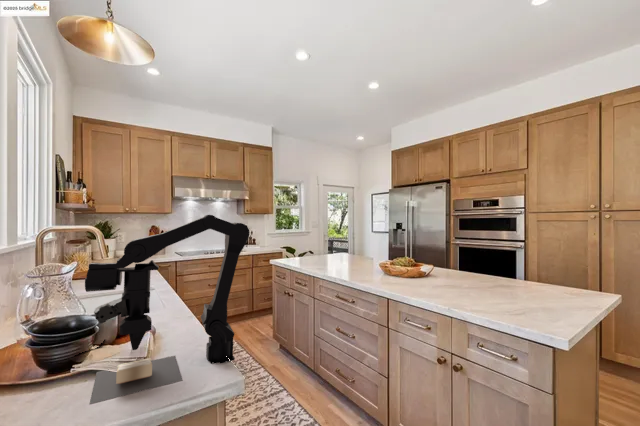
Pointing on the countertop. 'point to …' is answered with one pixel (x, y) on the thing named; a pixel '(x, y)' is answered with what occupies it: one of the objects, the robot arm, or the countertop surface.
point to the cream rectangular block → (134, 371)
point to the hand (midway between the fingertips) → (134, 349)
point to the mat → (162, 375)
